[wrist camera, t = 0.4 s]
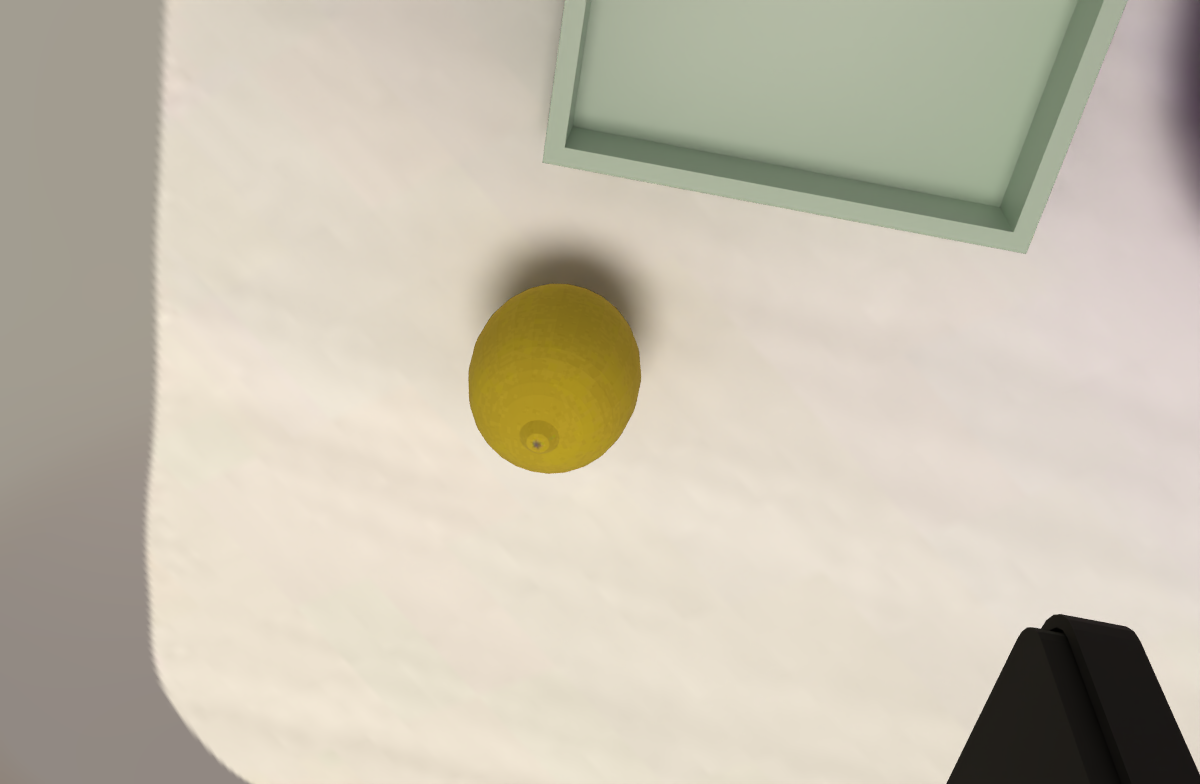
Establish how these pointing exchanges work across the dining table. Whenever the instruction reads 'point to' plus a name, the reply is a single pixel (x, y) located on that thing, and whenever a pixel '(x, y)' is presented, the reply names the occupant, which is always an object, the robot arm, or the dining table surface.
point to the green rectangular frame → (835, 104)
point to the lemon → (554, 378)
